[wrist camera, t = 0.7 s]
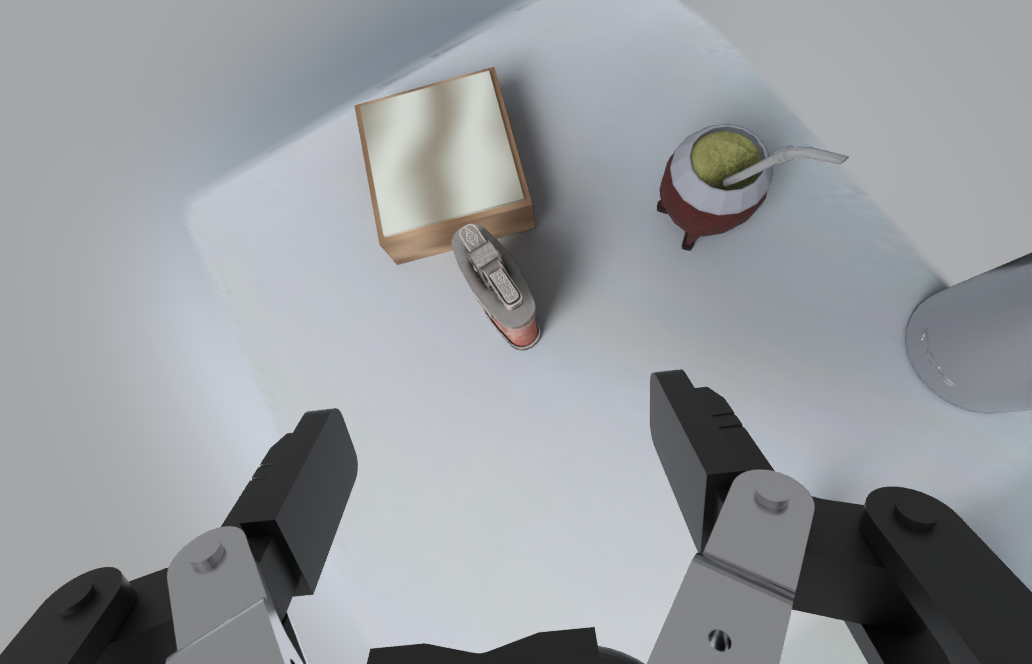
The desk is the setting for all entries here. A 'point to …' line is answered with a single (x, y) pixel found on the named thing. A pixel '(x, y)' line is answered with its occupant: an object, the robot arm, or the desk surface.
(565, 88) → the desk surface
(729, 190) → the mate gourd
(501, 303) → the lighter
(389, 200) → the wooden flat block
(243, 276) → the desk surface
